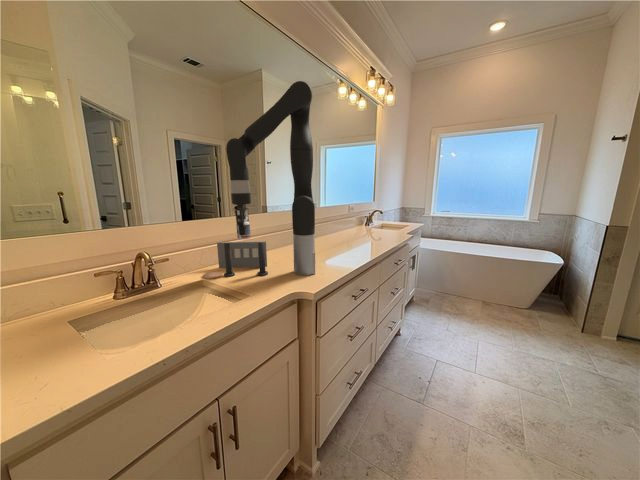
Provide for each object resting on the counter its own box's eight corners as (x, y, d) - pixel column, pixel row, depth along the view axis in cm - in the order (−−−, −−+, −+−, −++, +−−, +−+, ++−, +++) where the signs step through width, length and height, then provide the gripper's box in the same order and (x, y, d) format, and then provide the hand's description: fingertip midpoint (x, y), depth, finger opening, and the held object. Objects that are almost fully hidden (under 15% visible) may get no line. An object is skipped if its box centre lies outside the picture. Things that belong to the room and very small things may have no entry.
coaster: (224, 272, 112) (224, 271, 112) (219, 278, 104) (219, 277, 104) (206, 273, 112) (206, 272, 111) (199, 279, 104) (199, 278, 104)
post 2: (268, 272, 112) (267, 241, 109) (267, 275, 108) (265, 243, 105) (258, 272, 112) (256, 241, 109) (256, 276, 107) (255, 243, 105)
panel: (267, 265, 122) (266, 241, 119) (266, 267, 119) (265, 242, 117) (219, 267, 120) (217, 242, 117) (218, 268, 118) (216, 243, 115)
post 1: (235, 273, 111) (233, 242, 108) (233, 276, 107) (231, 244, 104) (225, 273, 110) (223, 242, 108) (222, 277, 106) (219, 244, 103)
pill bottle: (253, 237, 108) (251, 216, 106) (245, 239, 103) (244, 217, 101) (242, 236, 109) (240, 216, 107) (234, 239, 104) (233, 217, 103)
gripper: (246, 192, 96) (249, 236, 99) (253, 191, 110) (255, 230, 113) (226, 192, 95) (230, 237, 98) (235, 192, 109) (238, 231, 112)
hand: (243, 233), depth 106 cm, fingers closed on pill bottle, 5 cm apart
